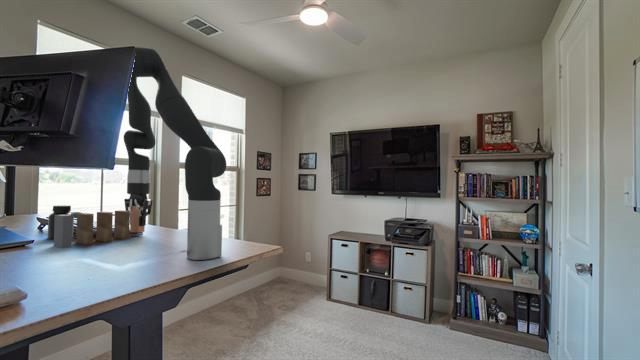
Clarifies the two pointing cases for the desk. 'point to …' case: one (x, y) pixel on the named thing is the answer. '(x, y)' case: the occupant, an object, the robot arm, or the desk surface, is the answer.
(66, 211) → the supplement bottle
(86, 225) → the domino
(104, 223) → the domino
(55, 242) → the end domino
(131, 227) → the domino
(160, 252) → the desk surface
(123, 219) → the domino
